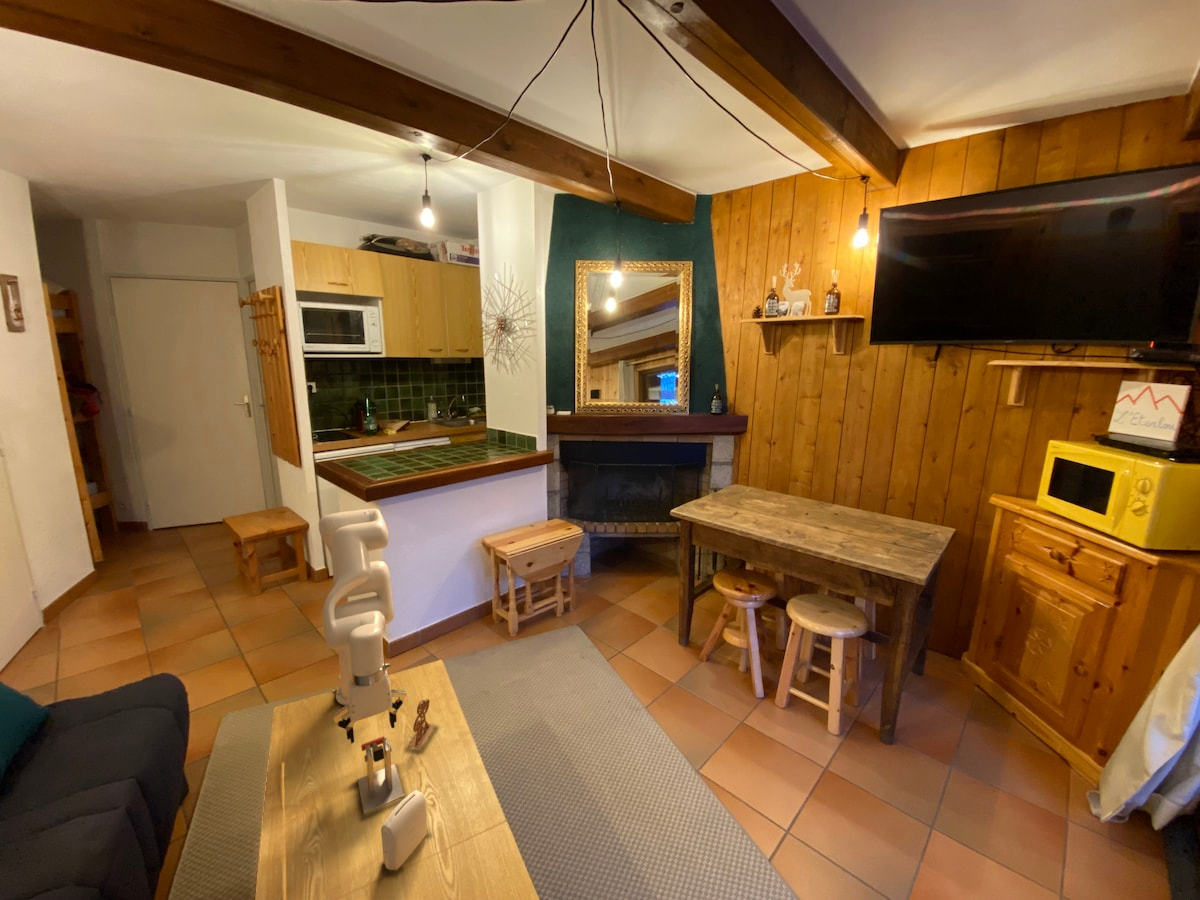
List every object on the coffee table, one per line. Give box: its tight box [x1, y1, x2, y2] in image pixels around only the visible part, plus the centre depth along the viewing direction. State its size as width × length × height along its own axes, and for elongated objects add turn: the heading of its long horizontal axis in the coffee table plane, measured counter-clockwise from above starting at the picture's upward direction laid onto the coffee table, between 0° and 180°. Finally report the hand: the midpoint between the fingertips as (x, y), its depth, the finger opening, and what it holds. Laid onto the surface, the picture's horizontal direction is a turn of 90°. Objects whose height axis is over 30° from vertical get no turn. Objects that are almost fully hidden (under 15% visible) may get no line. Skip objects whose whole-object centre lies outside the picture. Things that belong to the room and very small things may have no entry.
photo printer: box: [380, 789, 428, 871], centre depth 105 cm, size 10×4×12 cm, turn 156°
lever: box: [360, 735, 385, 763], centre depth 122 cm, size 12×6×2 cm, turn 34°
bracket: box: [357, 737, 405, 815], centre depth 119 cm, size 11×9×13 cm
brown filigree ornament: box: [408, 698, 436, 749], centre depth 136 cm, size 9×4×12 cm, turn 171°
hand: (372, 732), depth 125 cm, fingers open, 9 cm apart
